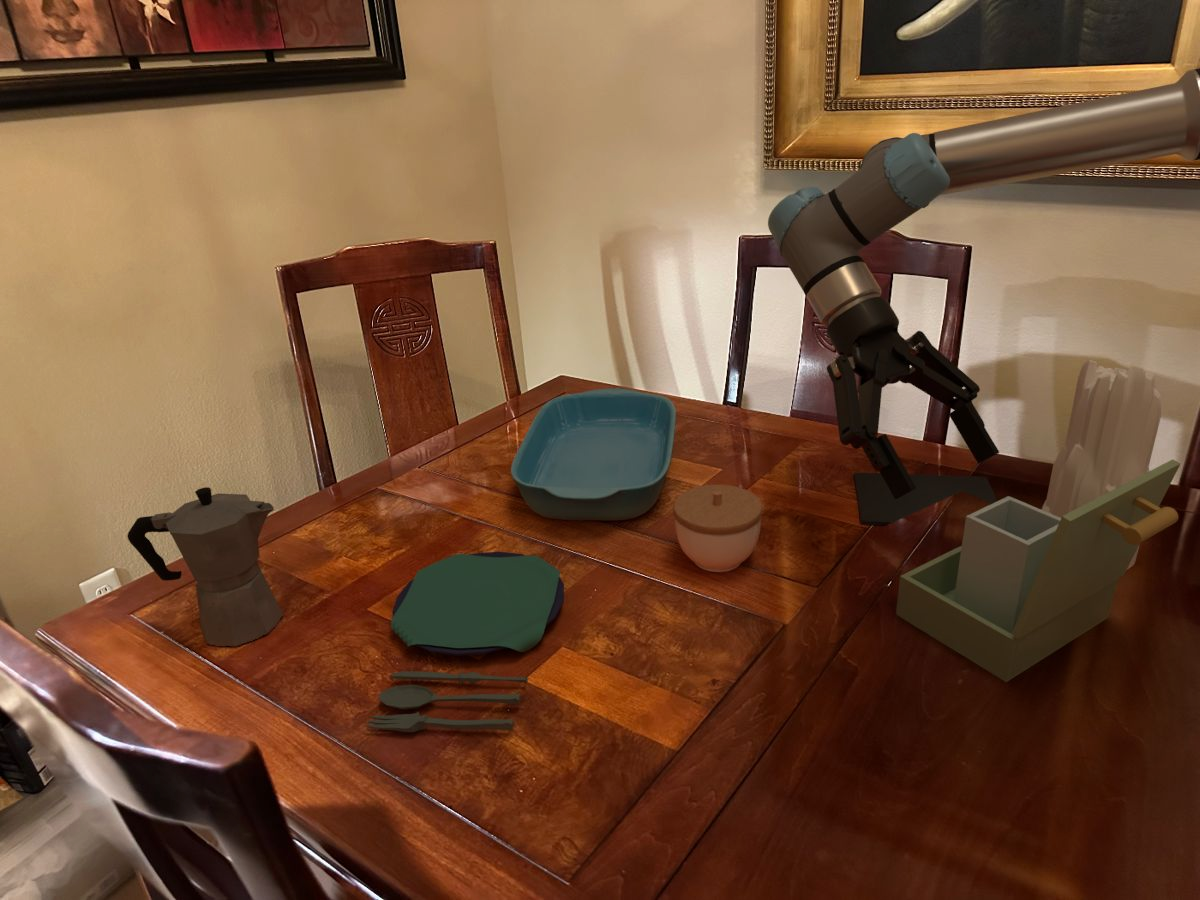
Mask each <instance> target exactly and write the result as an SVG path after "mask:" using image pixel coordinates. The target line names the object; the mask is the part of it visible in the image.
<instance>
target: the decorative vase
mask: <svg viewBox="0 0 1200 900" xmlns="http://www.w3.org/2000/svg"><path fill="white" fill-rule="evenodd" d="M1161 418H1162V395H1161V394H1160V392H1159V390H1158V389H1157V388H1156V381H1155V375H1154V373H1152V371H1150V370H1148V371H1145V369H1144V368H1143V367H1140V366H1137V365H1134V364H1131V365H1130V366H1129V368H1128V370H1127V369H1124V368H1121V367H1114V368H1111V367H1104V366H1103V365H1099V366H1098V362H1097V361H1094V360H1091V359H1089V360H1086V361H1084V362H1083V363H1082V366H1081V369H1080V371H1079V374H1078V377H1077V381H1076V386H1075V392H1074V397H1073V403H1072V408H1071V413H1070V418H1069V423H1068V429H1067V434H1066V439H1065V444H1064V446H1062V447H1061V449H1060V451H1059V453H1058V455H1056V458H1055V460H1054V461H1053V465H1052V469H1051V474H1050V480H1049V485H1048V490H1047V494H1046V499H1045V500H1044V503H1043V505H1042V507H1041V508H1040V509H1041V510H1043V511H1045V512H1048V513H1050V514H1052V515H1055V516H1057V517H1060V518H1062V516H1064V515H1066V514H1067V513H1069V512H1071V511H1073V510H1075V509H1077V508H1079V507H1081V506H1083V505H1085V504H1087V503H1089V502H1091V501H1093V500H1095V499H1097V498H1099V497H1101V496H1102V495H1104V494H1106V493H1108V492H1110V491H1112V490H1114V489H1116V488H1118V487H1120V486H1122V485H1124V484H1126V483H1128V482H1130V481H1132V480H1134V479H1135V478H1137V477H1139V476H1141V475H1143V474H1145V473H1147V472H1149V471H1150V467H1149V466H1150V462H1151V459H1152V455H1153V452H1154V451H1153V450H1154V446H1155V442H1156V438H1157V434H1158V431H1159V430H1158V429H1159V426H1160V422H1161ZM1140 545H1141V543H1140V544H1139V546H1138V548H1137V550H1136V552H1135V554H1134V556H1133V558H1132V560H1131V562H1130V564H1129V566H1128V568H1127V570H1129V569H1131V568H1132V567H1134V565H1135V564H1136V561H1137V558H1138V553H1139V550H1140V549H1139V548H1140Z"/></svg>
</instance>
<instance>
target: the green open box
mask: <svg viewBox="0 0 1200 900" xmlns="http://www.w3.org/2000/svg"><path fill="white" fill-rule="evenodd" d="M961 548H962V545H960V546H958V547H956V548H954V549H951V550H950V551H947V552H946V553H944V554H941V555H939V556H937V557H935V558H934V559H931V560H929V561H927V562H926V563H923V564H921V565H919V566H917V567H916V568H913V569H912V570H909V571H908V572H905V573H903V574H901V575H900V576H899V584H898V592H897V600H896V602H897V603H896V611H895V615H896V616H898V617H899V618H900V619H902V620H904V621H906V622H907V623H909V624H910V625H912V626H914V627H915V628H917V629H919V630H920V631H921V632H923V633H925V634H927V635H928V636H930V637H932V638H933V639H935V640H936V641H938V642H940V643H941V644H943V645H944V646H946V647H948V648H950V649H951V650H953V651H955V652H956V653H958V654H960V655H961V656H963V657H964V658H966V659H968V660H969V661H970V662H972V663H974V664H976V665H977V666H979V667H980V668H982V669H983V670H985V671H987V672H988V673H990V674H992V675H993V676H996V677H997V678H998V679H1000V680H1002V681H1003V682H1005V683H1007V682H1009V681H1011V680H1012V679H1013V678H1015V677H1016V676H1018V675H1020V674H1022V673H1023V672H1024V671H1026V670H1028V669H1029V668H1031V667H1033V666H1034V665H1036V664H1037V663H1039V662H1041V661H1042V660H1044V659H1045V658H1047V657H1048V656H1050V655H1052V654H1053V653H1055V652H1056V651H1058V650H1059V649H1061V648H1063V647H1065V646H1066V645H1068V644H1069V643H1071V642H1072V641H1073V640H1075V639H1077V638H1078V637H1080V636H1082V635H1083V634H1084V633H1086V632H1088V631H1089V630H1091V629H1093V628H1094V627H1095V626H1097V625H1099V624H1101V623H1102V622H1103V621H1105V620H1107V619H1109V618H1110V614H1111V610H1112V606H1113V602H1114V597H1115V594H1116V590H1117V586H1118V581H1119V579H1117V580H1116V581H1114V582H1112V583H1111V584H1109V585H1107V586H1106V587H1104V588H1102V589H1101V590H1099V591H1097V592H1096V593H1094V594H1092V595H1091V596H1089V597H1087V598H1086V599H1084V600H1082V601H1081V602H1079V603H1077V604H1076V605H1074V606H1072V607H1071V608H1069V609H1067V610H1066V611H1064V612H1062V613H1061V614H1059V615H1057V616H1056V617H1054V618H1053V619H1051V620H1049V621H1048V622H1046V623H1044V624H1043V625H1041V626H1039V627H1038V628H1036V629H1034V630H1033V631H1031V632H1029V633H1028V634H1026V635H1024V636H1023V637H1021V638H1019V639H1018V638H1016V637H1015V636H1014V635H1012V634H1011V633H1009V632H1007V631H1005V630H1004V629H1002V628H1000V627H998V626H997V625H995V624H993V623H991V622H989V621H988V620H986V619H984V618H982V617H980V616H979V615H977V614H975V613H973V612H972V611H970V610H968V609H966V608H964V607H963V606H961V605H959V604H957V603H956V602H954V596H955V589H956V582H957V575H958V568H959V562H960V555H961Z"/></svg>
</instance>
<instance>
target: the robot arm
mask: <svg viewBox="0 0 1200 900" xmlns="http://www.w3.org/2000/svg"><path fill="white" fill-rule="evenodd" d="M1173 155H1174V156H1175V155H1176V156H1178V157H1180V158H1182V159H1183V160H1185V161H1186V162H1193V161H1199V160H1200V67H1199V68H1194V69H1190V70H1187V71H1185V73H1184V74H1183V75H1182V76H1181V77H1180V78H1179V79H1178V80H1177V81H1176V82H1174V83H1169V84H1164V85H1160V86H1154V87H1150V88H1149V87H1148V88H1145V89H1139V90H1135V91H1130V92H1126V93H1125V92H1124V93H1119V94H1115V95H1111V96H1105V97H1101V98H1096V99H1090V100H1085V101H1081V102H1077V103H1070V104H1067V105H1061V106H1056V107H1051V108H1046V109H1042V110H1037V111H1032V112H1027V113H1022V114H1021V113H1020V114H1016V115H1013V116H1008V117H1003V118H997V119H993V120H988V121H987V120H986V121H983V122H977V123H973V124H968V125H964V126H958V127H952V128H948V129H943V130H937V131H934V132H931V133H926V134H925V133H924V134H920V133H918V132H912V133H909V134H907V135H905V136H904V137H899V136H894V137H890V138H886V139H882V140H880V141H878V142H877V143H876V144H874V145H872V146H871V147H870V148H869V149H868V151H867V152H866V153H865V155H864V157H863V158H862V160H861V163H860V165H859V170H857V171H856V172H855V173H853V174H852V175H851V176H850V177H848V178H847V179H846V180H845V181H843V182H842V183H841V184H839V185H838V186H837V187H835V188H833V189H832V190H830V191H828V192H827V193H825V192H823V191H822V189H820V188H819V187H817V186H806V187H803V188H800V189H798V190H797V191H795V192H794V193H792V194H788V195H786V196H785V197H784V198H783V199H781V200H780V201H779V202H778V203H777V204H776V205H775V207H773V208H772V210H771V212H770V214H769V216H768V219H767V227H768V230H769V232H770V234H771V236H772V238H773V240H774V242H775V244H776V246H777V249H778V253H779V255H780V256H781V257H782V258H783V260H784V262H785V263H786V265H787V266H788V268H789V270H790V271H791V273H792V275H793V276H794V279H795V280H796V282H797V283H798V285H799V286H800V288H801V290H802V292H803V293H804V295H805V297H806V300H807V301H808V303H809V304H810V307H811V308H812V310H813V312H814V313H815V315H816V317H817V319H818V320H819V322H820V324H821V325H822V326H824V327H826V331H825V332H826V336H827V337H828V338H829V341H830V342H831V344H832V346H833V347H834V349H835V351H836V352H837V354H838V356H837V357H836V358H834V359H833V360H832V361H831V362H830V363H829V364H827V366H826V371H827V374H828V376H829V378H830V380H831V383H832V385H833V386H832V387H833V395H834V402H835V403H834V404H835V411H836V412H835V413H836V420H837V427H838V437H839V441H840V443H841V444H842V445H843V446H849V445H850V446H851V447H852V448H853V449H855V450H859V449H860V448H861V449H862V450H863V452H864V454H865V455H866V457H867V459H868V461H869V463H870V465H871V466H872V468H873V469H874V470H875V471H876V472H879V473H881V475H882V477H883V478H884V480H885V482H886V484H887V486H888V487H889V489H890V491H891V493H892V495H893V496H894V498H895V499H897V498H900V497H902V496H903V495H905V494H907V493H909V492H911V491H912V490H914V489H916V486H915V485H914V483H913V481H912V479H911V478H910V476H909V474H910V473H909V472H908V470H907V469H906V467H905V465H904V464H903V462H902V460H901V458H900V456H899V454H898V453H897V452H896V450H895V449H896V448H895V447H894V446H893V444H892V443H891V441H890V439H889V438H888V436H887V434H886V433H884V434H881V435H879V436H878V434H879V427H880V426H879V424H880V414H881V403H882V392H883V388H885V387H886V386H887V385H893V384H897V383H899V382H901V383H903V384H910V385H912V386H913V387H914V388H917V389H918V390H920V391H921V392H924V393H925V394H927V395H928V396H930V397H931V398H932V399H935V400H936V401H938V402H940V403H941V404H943V405H944V406H946V407H948V408H950V409H951V410H953V411H951V412H950V413H948V416H949V417H950V419H951V421H952V423H953V424H954V426H955V428H956V429H957V431H958V433H959V434H960V436H961V438H962V439H963V441H964V443H965V444H966V446H967V448H968V449H969V451H970V453H971V454H972V456H973V458H974V460H975V462H976V463H977V464H981V463H983V462H985V461H987V460H988V459H990V458H992V457H994V456H996V455H998V454H1000V453H1001V452H1000V451H999V449H998V447H997V446H996V444H995V442H994V441H993V439H992V437H991V435H990V434H989V432H988V431H987V428H985V427H986V424H985V422H984V420H983V419H982V416H981V415H980V413H979V411H978V410H977V409H976V407H975V405H974V403H973V400H975V399H976V398H978V393H980V392H981V388H980V386H979V384H978V383H976V382H975V381H974V380H973V379H971V378H970V376H968V375H967V374H966V373H965V372H964V371H962V370H961V369H960V368H959V367H958V366H957V365H955V364H954V363H953V362H952V361H951V360H950V359H948V357H946V356H945V354H943V353H942V352H941V351H939V350H938V349H937V348H936V347H935V346H934V345H933V344H932V343H931V342H930V340H929V338H928V337H927V336H926V335H925V333H924V332H923V331H922V330H917V331H916V332H915V333H914V334H912V335H910V336H909V337H908V338H906V339H905V338H904V337H903V336H902V335H901V334H900V333H899V325H900V319H899V318H898V316H897V314H896V313H895V311H894V309H893V308H892V306H891V304H890V302H889V301H888V299H887V298H886V297H883V296H882V295H881V294H882V288H881V286H880V285H879V283H878V282H877V279H875V277H874V275H873V274H872V271H871V270H870V269H869V267H868V265H867V264H866V263H865V261H864V258H862V256H861V254H860V250H862V249H864V247H867V246H868V245H870V244H871V243H872V242H873V241H875V240H876V239H877V238H879V237H881V236H883V235H884V234H885V233H887V232H888V231H890V230H891V229H893V228H894V227H896V226H897V225H899V224H900V223H902V222H903V221H905V220H906V219H908V218H909V217H911V216H912V215H914V214H915V213H917V212H918V211H920V210H921V209H926V208H927V207H929V205H930V204H931V202H933V201H934V200H935V199H937V198H938V197H939V196H942V195H948V194H955V193H960V192H965V191H966V192H967V191H972V190H978V189H983V188H988V187H989V188H990V187H994V186H1001V185H1006V184H1012V183H1013V184H1014V183H1018V182H1022V181H1023V182H1024V181H1030V180H1036V179H1040V178H1041V179H1042V178H1047V177H1052V176H1059V175H1063V174H1065V175H1066V174H1070V173H1077V172H1081V171H1087V170H1092V169H1093V170H1094V169H1099V168H1105V167H1111V166H1117V165H1121V164H1127V163H1128V164H1129V163H1133V162H1139V161H1143V160H1144V161H1145V160H1151V159H1157V158H1161V157H1162V158H1163V157H1169V156H1173ZM856 375H857V376H858V381H857V380H856Z"/></svg>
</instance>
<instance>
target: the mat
mask: <svg viewBox="0 0 1200 900" xmlns="http://www.w3.org/2000/svg"><path fill="white" fill-rule="evenodd" d="M908 474H909V476H910V478H911V479H912V481H913V483H914V485H915V486H916V489H914V490H912V491H911V492H909V493H907V494H905V495H903V496H902V497H900V498H897V499H895V498H894V496H893V495H892V493H891V491H890V489H889V487H888V486H887V484H886V482H885V480H884V478H883V477H882V475H881V473H880V472H861V471H860V472H859V471H854V472H853V480H854V487H855V493H856V499H857V500H856V501H857V506H858V513H859V521H860V524H861V525H862V526H880V527H881V526H884V527H886V526H888V525H890V524H893V523H895V522H897V521H899V520H902V519H904V518H906V517H908V516H911V515H913V514H915V513H917V512H920V511H922V510H924V509H927V508H928V507H930V506H933V505H935V504H937V503H939V502H942V501H944V500H946V499H948V498H950V497H953V496H955V495H957V494H959V493H961V492H963V493H966V494H968V495H970V496H972V497H975V498H978V499H980V500H982V501H983V502H987V503H988V504H990V505H991V504H993V503H995V502H997V501H998V500H997V497H996V494H995V492H994V491H993V488H992V487H991V484H990V482H989V479H988V477H987V476H976V475H975V476H973V475H972V476H971V475H950V474H949V475H947V474H945V475H944V474H919V473H915V474H913V473H908Z"/></svg>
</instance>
